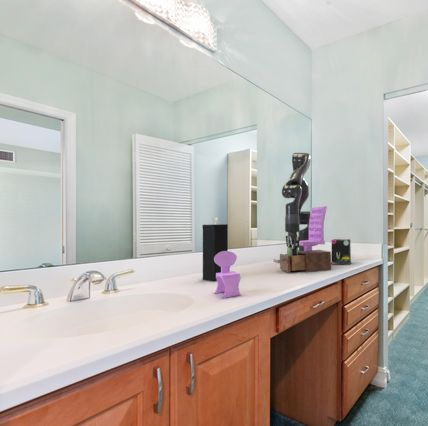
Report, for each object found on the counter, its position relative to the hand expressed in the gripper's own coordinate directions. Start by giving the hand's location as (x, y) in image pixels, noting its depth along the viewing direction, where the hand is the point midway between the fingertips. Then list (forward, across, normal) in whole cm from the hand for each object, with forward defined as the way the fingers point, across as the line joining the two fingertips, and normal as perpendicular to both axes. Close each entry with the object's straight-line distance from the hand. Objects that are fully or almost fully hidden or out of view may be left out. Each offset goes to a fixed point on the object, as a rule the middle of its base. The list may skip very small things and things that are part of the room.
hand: (292, 255), depth 145 cm
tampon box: (+8, +11, -37) cm, 39 cm away
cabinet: (+8, 0, -12) cm, 14 cm away
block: (0, 0, 0) cm, 0 cm away
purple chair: (+8, +18, -19) cm, 27 cm away
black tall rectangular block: (+8, -2, +39) cm, 40 cm away
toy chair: (+8, -33, +39) cm, 52 cm away
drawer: (+7, 0, 0) cm, 7 cm away
